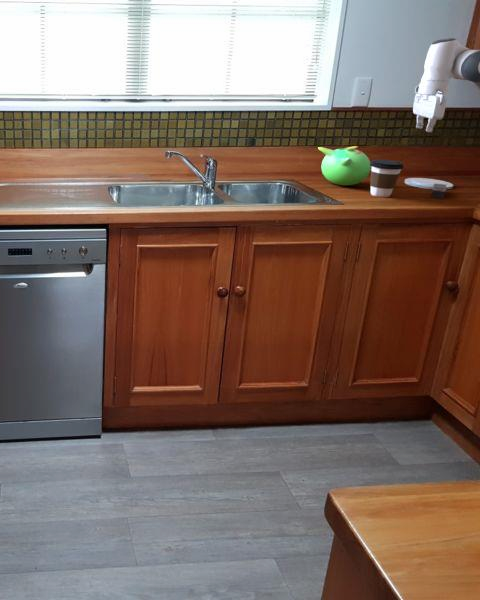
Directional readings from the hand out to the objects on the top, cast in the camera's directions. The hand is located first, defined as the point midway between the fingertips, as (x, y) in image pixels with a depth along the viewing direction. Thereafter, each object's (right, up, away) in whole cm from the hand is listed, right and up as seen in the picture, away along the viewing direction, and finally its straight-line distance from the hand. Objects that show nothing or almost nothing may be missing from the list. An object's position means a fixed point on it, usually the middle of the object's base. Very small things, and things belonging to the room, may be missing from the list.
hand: (423, 130), depth 217 cm
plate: (+15, -15, +23) cm, 31 cm away
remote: (+9, -22, +6) cm, 25 cm away
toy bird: (-22, -16, +19) cm, 33 cm away
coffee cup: (-14, -23, +4) cm, 27 cm away
